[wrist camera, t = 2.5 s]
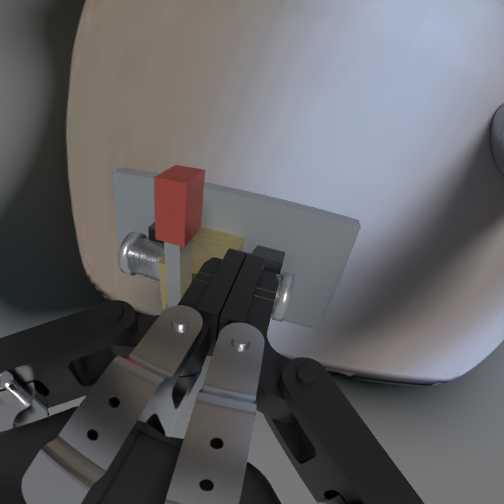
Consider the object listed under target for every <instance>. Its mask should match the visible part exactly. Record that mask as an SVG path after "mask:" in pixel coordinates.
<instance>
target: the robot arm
mask: <svg viewBox="0 0 504 504" xmlns="http://www.w3.org/2000/svg"><path fill="white" fill-rule="evenodd" d="M491 145H492V151H493V155H494V159H495V161H496V164H497V166H498V168H499V170H500V171H501V173H502V174H503V175H504V104H503V105H502V106H501V107H500V108H499V109H498V110H497V112H496V114H495V116H494V119H493V123H492V129H491ZM265 260H266V257H263V256H259V255H255V254H251V253H248V254H247V252H243V251H239V250H235V249H231V248H229V249H228V251H227V252H226V254H225V256H224V258H223V259H220V258H216V257H212V258H211V259H209V260H208V261H206V262H204V263H203V265H202V267H201V268H200V270H199V272H198V273H197V274H196V276H195V278H194V280H193V281H192V282H191V284H190V285H189V287H188V289H187V290H186V292H185V293H184V295H183V297H182V298H181V300H180V302H179V303H178V305H176V306H172V307H169V308H167V309H166V310H164V311H163V312H162V313H161V315H157V316H150V315H138V314H135V311H134V309H133V307H132V306H131V305H130V304H128V303H127V302H124V301H120V300H114V301H109V302H106V303H103V304H100V305H97V306H94V307H91V308H88V309H85V310H83V311H80V312H77V313H74V314H71V315H68V316H65V317H62V318H59V319H56V320H53V321H50V322H47V323H44V324H41V325H39V326H35V327H32V328H29V329H26V330H23V331H20V332H17V333H15V334H12V335H9V336H6V337H3V338H0V504H281V502H280V500H279V499H278V497H277V495H276V493H275V492H274V490H273V488H272V486H271V484H270V483H269V481H268V480H267V479H266V477H265V476H264V475H263V474H262V473H261V472H260V471H259V470H258V469H257V468H255V467H254V466H253V465H252V464H250V463H249V462H247V459H248V454H249V449H250V443H251V438H252V432H253V426H254V420H255V414H256V409H257V410H258V411H260V412H262V413H263V414H264V416H265V419H266V420H267V422H268V424H269V426H270V427H271V429H272V431H273V433H274V434H275V436H276V438H277V439H278V441H279V443H280V445H281V446H282V448H283V450H284V451H285V453H286V455H287V456H288V458H289V459H290V461H291V463H292V464H293V466H294V467H295V469H296V471H297V472H298V474H299V476H300V477H301V479H302V480H303V482H304V483H305V484H306V486H307V488H308V489H309V491H310V492H311V494H312V495H313V497H314V498H315V500H316V501H317V503H315V504H424V503H423V501H422V500H421V498H420V497H419V496H418V494H417V493H416V492H415V490H414V489H413V488H412V486H411V485H410V484H409V482H408V481H407V480H406V478H405V477H404V476H403V475H402V473H401V472H400V470H399V469H398V468H397V466H396V465H395V464H394V462H393V461H392V460H391V458H390V457H389V456H388V454H387V453H386V452H385V450H384V449H383V447H382V446H381V445H380V444H379V442H378V441H377V439H376V438H375V437H374V435H373V434H372V433H371V431H370V430H369V428H368V427H367V426H366V424H365V423H364V422H363V420H362V419H361V417H360V416H359V415H358V413H357V412H356V411H355V409H354V408H353V407H352V405H351V404H350V402H349V401H348V400H347V398H346V397H345V396H344V394H343V393H342V392H341V390H340V389H339V387H338V386H337V385H336V383H335V382H334V381H333V379H332V378H331V376H330V375H329V374H328V372H327V371H326V369H325V368H324V367H323V366H322V365H321V364H320V363H319V362H317V361H315V360H313V359H310V358H302V357H301V358H296V359H293V360H289V359H288V358H286V357H284V356H282V355H281V354H279V353H277V352H276V351H275V350H274V349H273V348H272V347H271V345H270V344H269V342H268V339H267V330H268V326H269V322H270V318H271V314H272V310H273V305H274V301H275V297H276V293H277V289H278V284H279V281H278V278H277V275H276V273H274V272H270V271H266V270H264V265H265ZM207 355H208V356H212V358H211V361H210V365H209V368H208V371H207V375H206V378H205V381H204V385H203V387H202V389H201V390H200V391H199V393H198V395H197V398H196V401H195V404H194V407H193V410H192V414H191V417H190V421H189V423H188V427H187V430H186V433H185V436H184V439H180V438H173V437H171V435H172V433H173V431H174V429H175V427H176V424H177V421H178V416H179V413H180V411H181V409H182V407H183V405H184V403H185V402H186V400H187V398H188V396H189V394H190V392H191V390H192V388H193V387H194V385H195V383H196V381H197V379H198V377H199V375H200V373H201V370H202V366H203V364H204V361H205V359H206V357H207ZM85 395H86V397H85V398H84V400H83V401H82V402H81V404H80V405H79V406H77V407H73V408H71V409H68V410H65V411H63V412H60V413H57V414H54V415H52V416H49V412H48V408H50V407H53V406H56V405H59V404H62V403H65V402H68V401H71V400H74V399H77V398H80V397H82V396H85Z"/></svg>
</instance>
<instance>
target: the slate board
mask: <svg viewBox="0 0 504 504" xmlns="http://www.w3.org/2000/svg"><path fill="white" fill-rule="evenodd" d="M157 175H159V174H155V173H149V172H142V171H136V170H129V169H122V168H119V169H117V170H115V171H113V172H112V177H113V193H114V205H115V215H116V224H117V233H118V240H119V247H120V246H121V244H122V242H123V240H124V238H125V237H126V236H127V235H128V234H129V233H131V232H133V231H135V232H139V233H142V234H145V235H146V237H147V239H149V233H148V227H149V226H150V225H152V224H153V223H154V222H155V209H154V177H156V176H157ZM201 227H205V228H209V229H213V230H217V231H221V232H225V233H229V234H233V235H237V236H241V237H245V238H244V245H243V252H247V254H248V253H251V254H254V253H255V250H256V248H257V246H258V245H260V246H263V247H267V248H271V249H275V250H279V251H283V252H285V257H284V261H283V265H282V268H281V272H280V275H283V276H284V273H285V272H287V273H291V274H295V278H294V284H293V288H292V292H291V296H290V300H289V304H288V307H287V310H286V313H285V316H284V319H283V321H287V322H291V323H295V324H299V325H303V326H307V327H312V328H316V329H317V327H318V325H319V323H320V321H321V319H322V317H323V315H324V312H325V310H326V308H327V306H328V304H329V302H330V299H331V297H332V295H333V293H334V291H335V288H336V286H337V284H338V281H339V279H340V277H341V274H342V272H343V270H344V267H345V265H346V263H347V260H348V258H349V255H350V253H351V250H352V248H353V245H354V243H355V240H356V237H357V235H358V232H359V229H360V223H359V220H356V219H352V218H349V217H345V216H342V215H338V214H335V213H331V212H328V211H324V210H320V209H317V208H313V207H309V206H305V205H301V204H297V203H294V202H290V201H286V200H281V199H277V198H273V197H269V196H265V195H260V194H256V193H252V192H247V191H243V190H238V189H234V188H229V187H224V186H219V185H215V184H210V183H205V182H204V191H203V204H202V219H201ZM135 276H138V277H141V278H144V279H147V280H150V281H152V282H155V283H158V284H160V281H157V280H154V279H151V278H148V277H145V276H142V275H139V274H136V275H135ZM272 316H273V315H271V317H272Z"/></svg>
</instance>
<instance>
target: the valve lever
mask: <svg viewBox="0 0 504 504" xmlns="http://www.w3.org/2000/svg"><path fill="white" fill-rule="evenodd" d="M204 179H205V170H202V169H197V168H191V167H185V166H179V165H175V166H173V167H171V168H170V169H168V170H166V171H164V172H163V173H161V174H159V175H157V176H156V177H154V209H155V236H156V240H160V241H164V250H165V270H166V285H167V298H168V303H167V304H166V309H167V308H169V307H172V306H176V305H178V303H179V302H180V300H181V298H182V297H183V295H184V293H185V292H186V290H187V289H188V287H189V285H190V284H191V282H192V243H193V236H194V235H195V234H196V233H197V232H198V231H199V229H200V228H201V219H202V204H203V191H204Z"/></svg>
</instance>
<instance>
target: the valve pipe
mask: <svg viewBox="0 0 504 504" xmlns="http://www.w3.org/2000/svg"><path fill="white" fill-rule="evenodd" d="M148 233H149V239H147V237H146V235H145V234H142V233H139V232H135V231H133V232H131V233H129V234H128V235H127V236H126V237H125V238H124V240H123V242H122V244H121V246H120V249H119V253H118V265H119V268H120V270H121V271H122V272H123V273H126V274H129V275H132V276H133V275H136V274H139V275H142V276H145V277H148V278H151V279H154V280H157V281H160V290H161V300H162V309H165V310H166V304H167V303H168V298H167V285H166V270H165V250H164V241H160V240H156V236H155V222H154V223H153V224H152V225H150V226H149V227H148ZM244 238H245V237H241V236H237V235H233V234H229V233H225V232H221V231H217V230H213V229H209V228H205V227H201V228H200V229H199V231H198V232H197V233H196V234H195V235H194V236H193V243H192V281H193V280H194V278H195V276H196V274H197V273H198V272H199V270H200V268H201V267H202V265H203V263H204V262H206V261H208V260H209V259H211V258H212V257H216V258H220V259H223V258H224V256H225V254H226V252H227V251H228V249H229V248H231V249H235V250H239V251H243V245H244ZM254 254H255V255H259V256H263V257H266V260H265V265H264V270H266V271H270V272H274V273H276V275H277V278H278V281H279V284H278V289H277V293H276V297H275V301H274V305H273V310H272V314H271V315H273V316H272V319H273V320H277V321H281V322H282V321H283V319H284V316H285V313H286V310H287V307H288V304H289V300H290V296H291V292H292V288H293V284H294V278H295V274H291V273H287V272H285V273H284V276H283V275H280V272H281V268H282V265H283V261H284V257H285V252H283V251H279V250H275V249H271V248H267V247H263V246H260V245H258V246H257V248H256V250H255V253H254Z"/></svg>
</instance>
